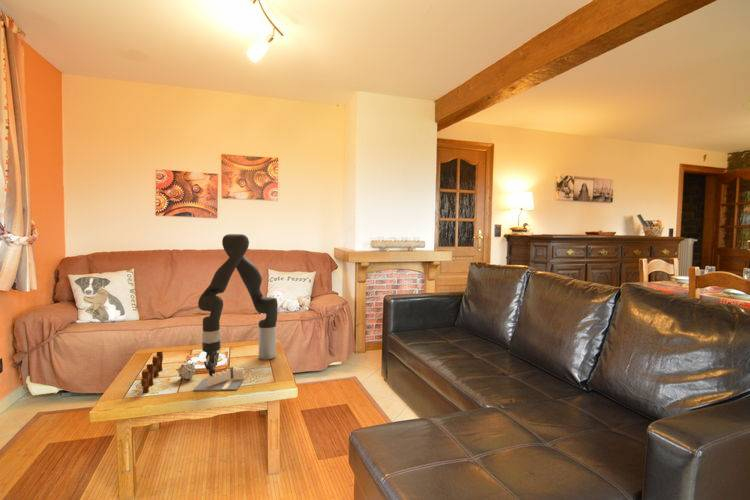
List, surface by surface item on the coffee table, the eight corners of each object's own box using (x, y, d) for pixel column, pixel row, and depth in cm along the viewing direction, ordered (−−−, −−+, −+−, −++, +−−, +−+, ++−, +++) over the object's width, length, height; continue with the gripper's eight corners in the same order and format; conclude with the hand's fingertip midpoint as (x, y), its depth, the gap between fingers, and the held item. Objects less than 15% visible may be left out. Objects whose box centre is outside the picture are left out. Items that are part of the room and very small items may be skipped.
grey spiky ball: (191, 386, 184) (205, 368, 185) (178, 386, 176) (192, 368, 177) (181, 373, 188) (195, 356, 189) (168, 373, 180) (181, 355, 181)
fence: (158, 368, 197) (158, 348, 196) (164, 367, 197) (164, 348, 197) (139, 395, 165) (139, 372, 164) (147, 395, 165) (147, 372, 165)
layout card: (203, 379, 182) (203, 378, 182) (244, 378, 184) (244, 377, 184) (193, 391, 169) (192, 389, 169) (236, 390, 171) (236, 388, 171)
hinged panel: (232, 377, 183) (232, 366, 183) (234, 377, 182) (233, 367, 182) (207, 385, 173) (206, 374, 173) (208, 386, 172) (208, 375, 172)
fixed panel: (233, 379, 182) (233, 368, 181) (234, 378, 183) (234, 367, 183) (243, 379, 182) (243, 368, 182) (244, 378, 183) (243, 367, 183)
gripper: (208, 335, 181) (208, 371, 183) (197, 344, 168) (197, 383, 170) (224, 335, 182) (225, 371, 183) (214, 344, 169) (215, 383, 170)
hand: (212, 377), depth 176 cm, fingers closed
